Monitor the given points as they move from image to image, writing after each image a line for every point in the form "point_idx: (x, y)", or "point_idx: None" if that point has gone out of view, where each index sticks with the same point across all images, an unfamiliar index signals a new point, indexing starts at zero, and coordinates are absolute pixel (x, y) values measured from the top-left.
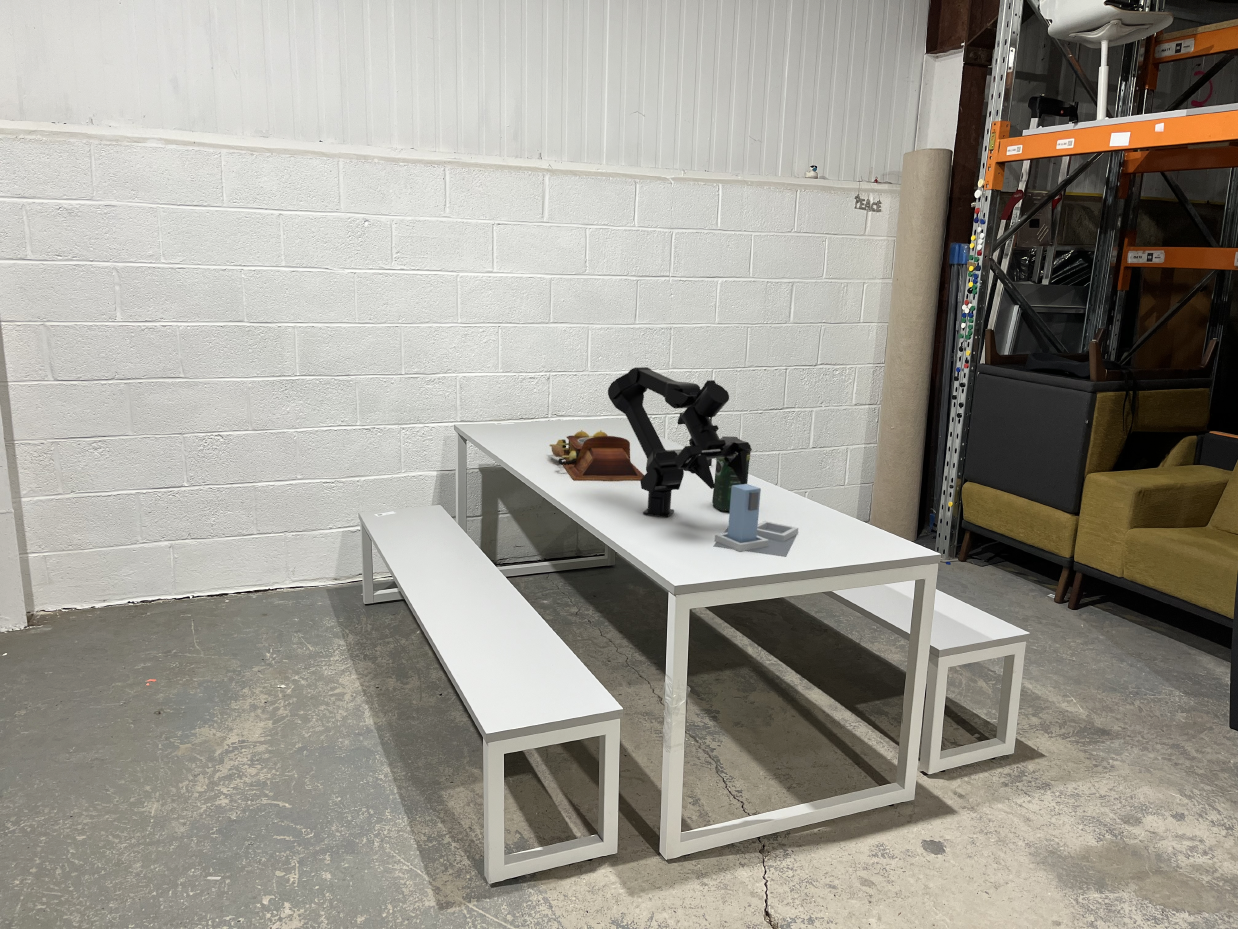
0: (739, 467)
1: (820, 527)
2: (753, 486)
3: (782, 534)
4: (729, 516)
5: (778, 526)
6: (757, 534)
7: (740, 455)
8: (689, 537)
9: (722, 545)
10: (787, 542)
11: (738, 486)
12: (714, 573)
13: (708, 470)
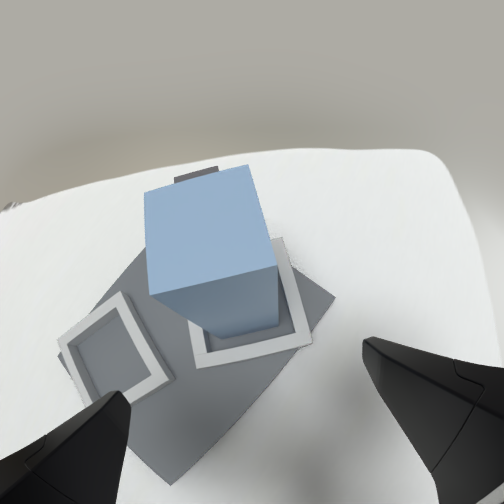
0: (77, 469)
1: (11, 385)
2: (152, 232)
3: (117, 300)
4: (277, 309)
5: (83, 379)
6: (160, 358)
7: (9, 495)
8: (346, 422)
9: (306, 300)
10: (122, 289)
11: (242, 240)
12: (375, 169)
13: (446, 368)
